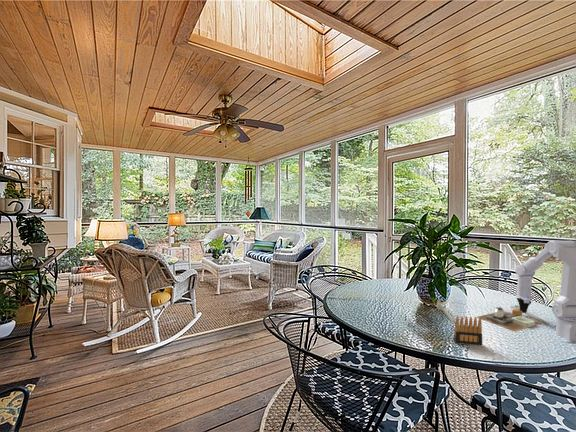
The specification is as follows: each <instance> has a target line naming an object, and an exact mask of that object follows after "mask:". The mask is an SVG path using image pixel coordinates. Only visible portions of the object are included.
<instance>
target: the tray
mask: <svg viewBox="0 0 576 432" xmlns="http://www.w3.org/2000/svg"><path fill="white" fill-rule="evenodd" d="M511 319H512V320H513V323H515V324H518V325H521V326H524V327H530V326H533V327H535V326H534V325H535V321H536V320H533V319H530V318H527V317H524V316H522V317H521V316H517V317H513V318H511ZM530 328H531V327H530Z"/></svg>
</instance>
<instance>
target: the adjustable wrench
mask: <svg viewBox="0 0 576 432" xmlns="http://www.w3.org/2000/svg"><path fill="white" fill-rule="evenodd" d="M510 309H513V310H514V309H517V310H520V307H519V304H518V305H517V304H515V305H510ZM524 314H525V315H527V316H529V317H530V318H532V319H534V320H535V321H537V322H540V323H543V324H542V325H545V326H548V325H549V322H547V321H546V320H544V319H542V318H540V317H539V316H536V315H534V314H532V313H531V312H529V311H527V312H526V313H524Z"/></svg>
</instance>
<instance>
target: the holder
mask: <svg viewBox="0 0 576 432" xmlns="http://www.w3.org/2000/svg"><path fill="white" fill-rule="evenodd" d="M508 314H512V312H508V311H506V310H504V315H508ZM479 317H480V318H481V321H485V322H488V323H490V324H492V325H496V326H498V327H502V328H503V329H507V330H509V331H512V332H514V333H515V332H518V331H522V330H526V329H530V328H532V327H537V326H540V325H544V324H543V323H541V322H539V321H537V320H534V321H535V325H534V326H530V327H524V326H521V325H518V324H515V323H513V320H512V319H511V318H513V317H515V316H513V317H509V318H504V320H498V319H496V318H495V312H493V313H492V312H491V313H488V314H483V315H478V316H476V319H479Z"/></svg>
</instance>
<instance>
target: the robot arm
mask: <svg viewBox="0 0 576 432" xmlns="http://www.w3.org/2000/svg"><path fill="white" fill-rule="evenodd" d="M552 256H553V257H555V258H556V259H558V260H560V261H561V262H562V272H561V283H560V284H561V285H560V295H559V296H558V297H556V299H554V300H553V301H554V302H553V305H551V311H552V313H553V315H554V316H555V318H556V321H555V335H557V336H559V337H560V338H563V339H565V340H567V341H566V343H568V344H570V343H571V344H576V241H574V240H549V241H548V242H547V243H545V244H544V248H543V249H542V250H541V251H540V252H539V253H538V254H537V255H536V256H530V257H528V259H527V260H526V261H524V262H522V263H523V264H517V265H516V267H515V268H514V271H515V274H516V275H517V286H516V287H517V288H516V289H517V290H516V300H517V302H518V306H519V307H520V310H521V311H522V314H525V313H526V312H528V308H529V306H530V305H531V303H532V301H531V299H535V297H534V295H533V296H532V280H533V279H534V276H535V275H536V271H537V270H538V269H540V268H541V267H542V266H543V265H544V263H543V262H545V261H546V260H547V259H549V258H551V257H552Z"/></svg>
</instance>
